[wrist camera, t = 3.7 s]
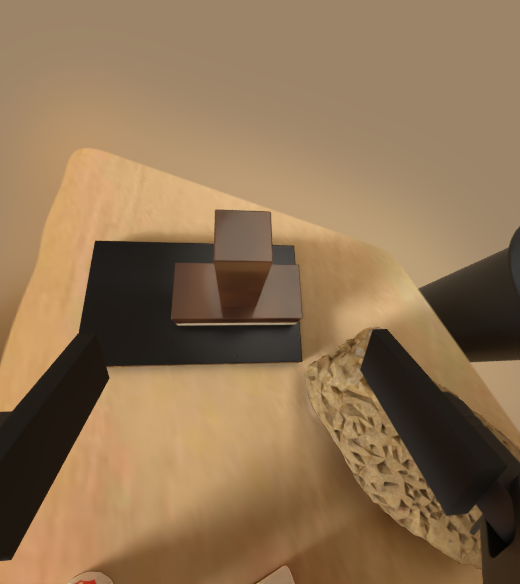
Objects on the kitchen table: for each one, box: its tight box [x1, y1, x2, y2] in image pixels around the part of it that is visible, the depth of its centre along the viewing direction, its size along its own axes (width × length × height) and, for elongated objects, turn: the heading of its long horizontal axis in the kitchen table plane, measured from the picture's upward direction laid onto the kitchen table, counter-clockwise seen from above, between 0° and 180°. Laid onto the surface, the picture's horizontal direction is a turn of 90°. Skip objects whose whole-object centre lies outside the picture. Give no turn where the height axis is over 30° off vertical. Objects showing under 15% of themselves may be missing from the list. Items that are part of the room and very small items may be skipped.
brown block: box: [171, 210, 303, 325], centre depth 20 cm, size 11×5×12 cm, turn 91°
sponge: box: [305, 327, 520, 569], centre depth 22 cm, size 13×8×20 cm
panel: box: [79, 241, 302, 367], centre depth 26 cm, size 20×12×2 cm, turn 91°
